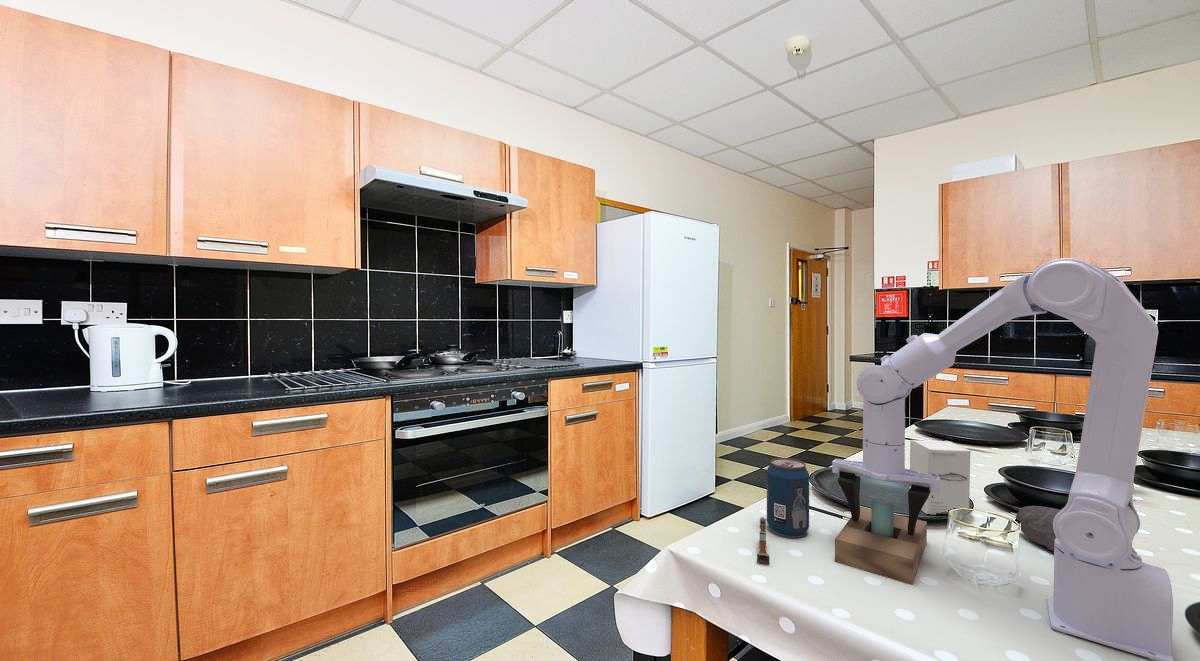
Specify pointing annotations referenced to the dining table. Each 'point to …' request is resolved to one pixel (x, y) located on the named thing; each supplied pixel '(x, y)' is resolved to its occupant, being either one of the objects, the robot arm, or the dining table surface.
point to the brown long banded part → (763, 543)
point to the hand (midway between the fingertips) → (882, 526)
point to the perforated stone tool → (1038, 524)
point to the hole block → (882, 547)
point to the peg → (882, 517)
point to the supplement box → (943, 473)
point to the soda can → (788, 497)
